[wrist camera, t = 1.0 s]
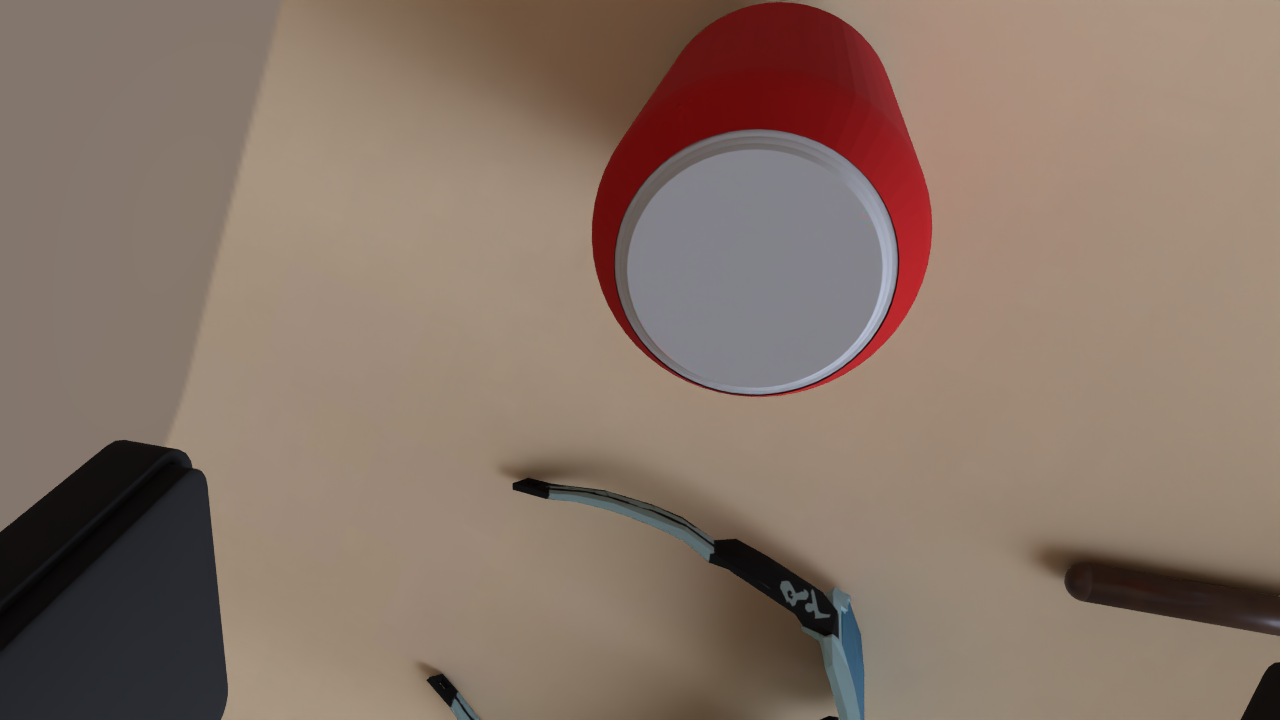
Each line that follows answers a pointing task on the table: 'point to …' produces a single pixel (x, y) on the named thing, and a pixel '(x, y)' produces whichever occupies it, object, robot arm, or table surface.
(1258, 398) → the table surface
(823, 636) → the sunglasses
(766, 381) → the beverage can
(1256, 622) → the brown flat paddle
